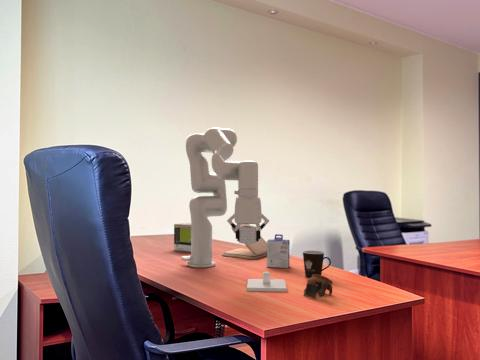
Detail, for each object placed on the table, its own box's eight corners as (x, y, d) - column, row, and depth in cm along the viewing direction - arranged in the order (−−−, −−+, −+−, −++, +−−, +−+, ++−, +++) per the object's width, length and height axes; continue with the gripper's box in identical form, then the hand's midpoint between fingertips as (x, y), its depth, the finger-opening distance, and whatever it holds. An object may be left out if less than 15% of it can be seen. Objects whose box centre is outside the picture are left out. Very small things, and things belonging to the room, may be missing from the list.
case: (255, 260, 219) (256, 227, 219) (219, 256, 229) (220, 225, 229) (273, 254, 237) (274, 224, 237) (239, 251, 247) (239, 222, 247)
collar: (238, 243, 166) (238, 227, 166) (239, 241, 172) (239, 225, 172) (256, 243, 165) (256, 227, 165) (256, 241, 172) (256, 225, 172)
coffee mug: (298, 275, 185) (298, 251, 185) (316, 273, 188) (316, 250, 188) (314, 281, 174) (314, 255, 174) (332, 279, 177) (332, 254, 177)
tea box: (206, 250, 247) (206, 223, 247) (194, 253, 238) (195, 225, 238) (184, 248, 255) (185, 222, 255) (173, 250, 246) (173, 223, 246)
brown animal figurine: (297, 294, 156) (305, 272, 159) (321, 306, 157) (328, 284, 160) (311, 294, 145) (319, 270, 147) (336, 306, 146) (344, 282, 148)
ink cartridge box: (289, 266, 204) (290, 234, 204) (288, 268, 199) (289, 235, 199) (268, 265, 206) (268, 233, 206) (266, 267, 201) (266, 235, 201)
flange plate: (246, 291, 158) (247, 276, 158) (247, 281, 172) (248, 268, 172) (286, 291, 158) (286, 277, 158) (284, 282, 172) (284, 269, 172)
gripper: (224, 193, 166) (224, 242, 166) (271, 194, 165) (271, 242, 165) (226, 193, 173) (226, 239, 173) (271, 193, 172) (271, 240, 172)
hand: (248, 240), depth 169 cm, fingers closed on collar, 6 cm apart
